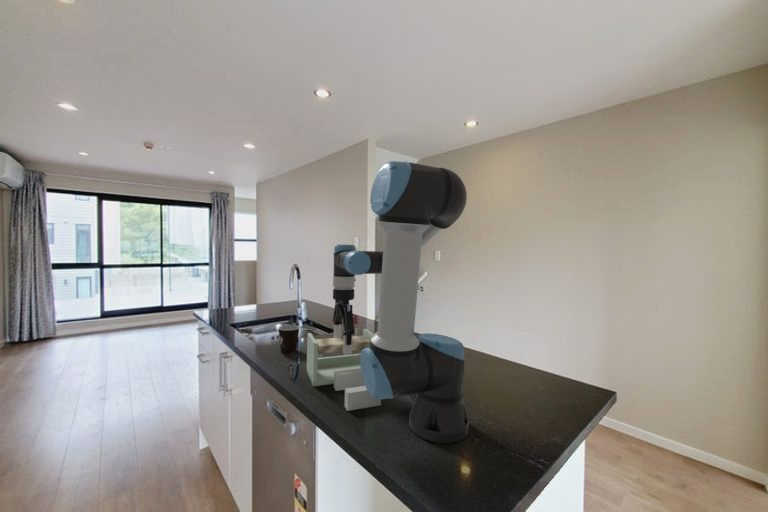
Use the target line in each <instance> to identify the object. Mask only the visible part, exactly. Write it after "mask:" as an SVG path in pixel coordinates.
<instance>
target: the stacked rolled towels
mask: <svg viewBox="0 0 768 512" xmlns="http://www.w3.org/2000/svg"><path fill="white" fill-rule="evenodd" d="M315 340H316V341H317V343H318V353H319V354H321V353H323V354H328V353H329V354H331V353H340V352H343V349H344V336H341V337H339V338H334V337H329V338H317V339H316V338H315ZM367 347H368V348H370V341H369V340H368V339H366V338H365V337H364V336H363V335H354V336H353V335H352V351H359V350H361V351H362V350H363V349H365V348H367Z"/></svg>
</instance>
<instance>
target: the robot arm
mask: <svg viewBox="0 0 768 512" xmlns="http://www.w3.org/2000/svg"><path fill="white" fill-rule="evenodd" d="M370 190H371V191H370V198H369V201H370V204H371V205H370V207H371V211H372V212H373V213H374V214H375V215H377V216H378V224H379V225H380V226H381V228H382V229H383V230H384V234H383V237H384V238H383V250H382V251H380V250H379V251H377V250H356V246H355V245H354V244H335V245H334V248H333V276H332V288H333V289H332V299H333V300H334V310H333V314H332V315H333V316H332V323H333V338H339V337H344V349H343V351H342V352H343V355H352V354H353V352H352V351H353V350H352V336H353V335H355V334H356V333H355V324H354V314H353V304H350V301H353V300H354V299H355V289H354V288H355V282H356V281H357V279H356V278H355V276H361V275H372V274H373V275H375V274H376V275H377V274H381V277H380V288H379V289H380V292H379V305H378V308H379V309H378V317H377V318H378V319H377V320H378V321H377V331H376V332H374V333H373V335H372V336H371V339H370V348H368V347H367V348H365V349H361V352H360V353H359V354H360V368H361V373H362V377H363V381H364V384H365V386H366V389H367V391H368V392H369V394H370V395H371V396H372V397H373V398H375V399H378V400H380V399H381V400H385V399H387V400H388V399H389V400H393V398H398V397H403V396H408V395H414V394H416V395H415V398H414V401H413V403H412V407H411V410H410V411H409V417H408V421H409V422H408V425H409V428H410V430H411V431H412V432H413V433H414V434H415V435H416V436H417V437H419V438H421V439H424V440H426V441H428V442H431V443H436V444H437V443H438V444H453V443H458V442H460V441H462V440H464V439H465V438H467V436H468V435H469V430H470V428H469V427H470V423H469V422H470V421H469V417H468V413H467V410H466V407H465V406H466V405H465V403H464V398H463V396H464V395H463V394H464V375H465V374H464V373H465V361H466V359H465V347H464V344H463V343H462V342H461V341H460V340H458V339H457V338H453V337H450V336H447V335H443V334H437V333H429V332H428V333H426V332H425V333H421V334H419V335H418V337H417V336H416V335H415V324H416V313H417V304H418V303H417V301H418V290H419V289H418V288H419V277H420V269H421V268H420V266H421V265H420V264H421V257H422V256H421V254H422V248H423V247H424V246H425V245H426V244H427V243H428V242H429V241H430V240H431V239H432V238H433V237H435V236H436V234H439V232H440V231H441V230H447V229H448V228H450V227H451V226H453V224H455V222H457V220H459V218H460V217H461V216H462V215H463V212H464V210H465V208H466V205H467V199H468V197H467V189H466V185H465V184H464V181H463V180H462V178H461V177H460V176H459V175H458V174H457V173H456V172H454V171H452V170H451V169H449V168H445V167H437V166H430V165H426V164H420V163H416V162H415V163H414V162H409V161H395V160H392V161H388V162H386V163H384V164H383V165H382V166H381V167H380V168H379V170H378V172H377V173H376V175H375V177H374V179H373V183H372V186H371V189H370ZM342 325H343V326H342ZM342 327H343V328H342ZM342 329H344V332H343V331H342ZM342 332H343V334H342Z"/></svg>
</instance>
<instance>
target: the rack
mask: <svg viewBox="0 0 768 512" xmlns="http://www.w3.org/2000/svg"><path fill="white" fill-rule="evenodd" d="M333 389H334V390H335V392H337V391H344V408H345V410H346V411H347V412H348V411H355V410H361V409H367V408H373V407H378V406H381V405H382V399H380V400H378V399H375V398H373V397H372V396H371V395H370V394H369V392H368V391H367V389H366V386H365V384H364V381H363V377H362V373H361V368H360V369H352V370H344V371H336V372H334V384H333Z"/></svg>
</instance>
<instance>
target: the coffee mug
mask: <svg viewBox="0 0 768 512" xmlns="http://www.w3.org/2000/svg"><path fill="white" fill-rule="evenodd" d="M299 334H300V326H298V325H291V324H290V325H289V324H288V325H282V326H279V327H278V335H279V337H278V338H279V346H280V353H282V354H293V352H294V353H296V352H297V349H298V348H297V347H298V343H299ZM295 351H296V352H295Z"/></svg>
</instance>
